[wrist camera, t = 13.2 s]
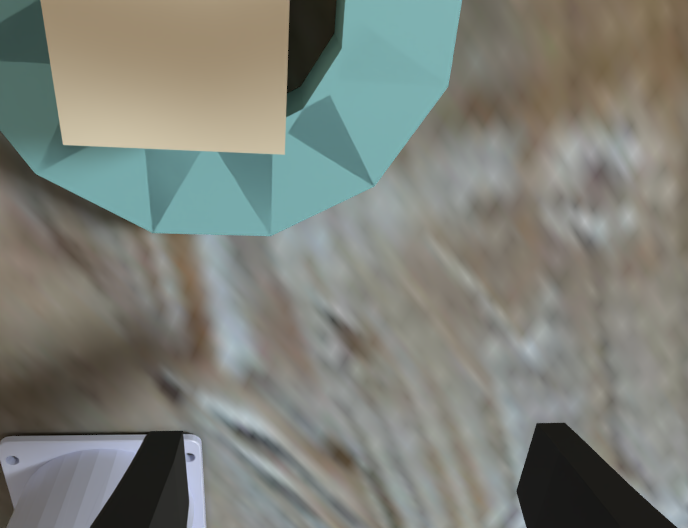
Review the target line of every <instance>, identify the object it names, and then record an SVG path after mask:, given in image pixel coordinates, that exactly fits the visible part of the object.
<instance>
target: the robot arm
mask: <svg viewBox="0 0 688 528" xmlns="http://www.w3.org/2000/svg"><path fill="white" fill-rule="evenodd" d="M186 453H192V455H189V454H186ZM13 456H15V457H13ZM0 462H1V466H2V469H3V473H4V476H5V480H6V483H7V486H8V490H9V493H10V497H11V500H12V504H13V507H14V512H13V514H12V516H11V518H10V520H9V523H8V525H7V527H6V528H206V513H205V495H204V477H203V459H202V442H201V439H200V438H199V437H198V436H196V435H193V434H183V431H151V432H150V433H148V434H147V435H63V436H8V437H5V438H3V439H2V440H1V441H0ZM517 495H518V498H519V502H520V506H521V509H522V513H523V517H524V520H525V524H526V527H527V528H677V527H676V526H675V525H674V524H672V523H671V522H670V521H669V520H668V519H667V518H666V517H665V516H663V515H662V514H661V513H660V512H659V511H658V510H657V509H655V508H654V507H653V506H652V505H651V504H650V503H649V502H648V501H647V500H646V499H644V498H643V497H642V496H641V495H640V494H639V493H638V492H637V491H636V490H635V489H634V488H633V487H632V486H630V485H629V484H628V483H627V482H626V481H625V480H624V479H623V478H622V477H621V476H620V475H619V474H618V473H617V472H616V471H615V470H614V469H613V468H612V467H610V466H609V465H608V464H607V463H606V462H605V461H604V460H603V459H602V458H601V457H600V456H599V455H598V454H597V453H596V452H595V451H594V450H593V449H592V448H591V447H590V446H589V445H588V444H587V443H586V442H585V441H584V440H582V439H581V438H580V437H579V436H578V435H577V434H576V433H575V432H574V431H573V430H572V429H571V428H570V427H569V426H568V425H567V424H565V423H537V424H536V428H535V431H534V434H533V438H532V441H531V444H530V448H529V451H528V454H527V458H526V461H525V464H524V468H523V471H522V474H521V478H520V481H519V484H518V488H517Z"/></svg>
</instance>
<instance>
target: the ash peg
mask: <svg viewBox="0 0 688 528" xmlns="http://www.w3.org/2000/svg"><path fill="white" fill-rule="evenodd" d="M40 1H41V7H42V14H43V20H44V26H45V33H46V39H47V45H48V52H49V58H50V65H51V71H52V77H53V84H54V90H55V96H56V103H57V109H58V116H59V122H60V128H61V135H62V141H63V145H75V146H98V147H121V148H144V149H167V150H190V151H213V152H236V153H258V154H281V155H285V133H286V101H287V69H288V36H289V4H290V0H40Z"/></svg>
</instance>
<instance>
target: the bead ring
mask: <svg viewBox="0 0 688 528" xmlns="http://www.w3.org/2000/svg"><path fill="white" fill-rule="evenodd" d="M461 3H462V0H337V1H336V17H335V32H334V35H333V36H332V38H331V39H330V41H329V42H328V44H327V46H326V47H325V49H324V50H323V52H322V54H321V55H320V57H319V58H318V60H317V61H316V63H315V65H314V66H313V68H312V69H311V71H310V73H309V74H308V76H307V77H306V79H305V80H304V82H303V84H302V85H301V87H299V88H297V89H295V90H293V91H291V92H289V93H287V101H286V133H285V155H281V154H258V153H236V152H213V151H190V150H167V149H144V148H121V147H98V146H75V145H63V141H62V135H61V128H60V122H59V116H58V109H57V103H56V96H55V90H54V84H53V77H52V71H51V65H50V58H49V52H48V45H47V39H46V33H45V26H44V20H43V14H42V7H41V1H40V0H0V131H1V132H2V133H3V135H4V136H5V137H6V138H7V139H8V141H9V142H10V143H11V144H12V146H13V147H14V148H15V149H16V150H17V152H18V153H19V154H20V155H21V157H22V158H23V159H24V160H25V162H26V163H27V164H28V165H29V166H30V168H31V169H32V170H33V171H34V173H35V174H37V175H39V176H41V177H43V178H45V179H47V180H49V181H51V182H53V183H55V184H57V185H59V186H61V187H63V188H64V189H66V190H68V191H70V192H72V193H74V194H76V195H78V196H80V197H82V198H84V199H86V200H88V201H90V202H92V203H94V204H96V205H98V206H100V207H102V208H104V209H106V210H108V211H110V212H112V213H114V214H116V215H118V216H120V217H122V218H124V219H126V220H128V221H130V222H132V223H134V224H136V225H138V226H140V227H142V228H144V229H146V230H148V231H150V232H152V233H173V234H211V235H249V236H272V235H274V234H276V233H278V232H280V231H282V230H284V229H287V228H289V227H291V226H293V225H295V224H297V223H299V222H301V221H303V220H305V219H307V218H309V217H312V216H314V215H316V214H318V213H320V212H322V211H324V210H326V209H328V208H330V207H332V206H334V205H337V204H339V203H341V202H343V201H345V200H347V199H349V198H351V197H353V196H355V195H357V194H360V193H362V192H364V191H366V190H368V189H370V188H372V187H374V186H375V185H376V184H377V182H378V181H379V179H380V178H381V177H382V175H383V174H384V173H385V171H386V170H387V169H388V167H389V166H390V165H391V163H392V162H393V161H394V159H395V158H396V156H397V155H398V154H399V152H400V151H401V150H402V148H403V147H404V146H405V144H406V143H407V142H408V140H409V139H410V137H411V136H412V135H413V133H414V132H415V131H416V129H417V128H418V127H419V125H420V124H421V123H422V121H423V120H424V118H425V117H426V116H427V114H428V113H429V112H430V110H431V109H432V108H433V106H434V105H435V104H436V102H437V101H438V99H439V98H440V97H441V95H442V94H443V93H444V91H445V90H446V89H447V87H448V85H449V78H450V72H451V66H452V60H453V53H454V47H455V41H456V34H457V28H458V22H459V16H460V9H461Z"/></svg>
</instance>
